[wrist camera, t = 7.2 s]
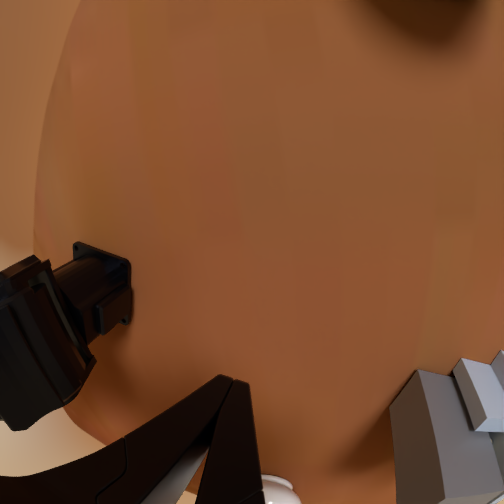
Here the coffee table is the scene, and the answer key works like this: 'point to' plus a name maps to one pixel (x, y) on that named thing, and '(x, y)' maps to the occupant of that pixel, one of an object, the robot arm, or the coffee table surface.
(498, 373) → the arched bridge stand
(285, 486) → the flower vase
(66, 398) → the robot arm
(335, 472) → the coffee table surface
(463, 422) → the plug
